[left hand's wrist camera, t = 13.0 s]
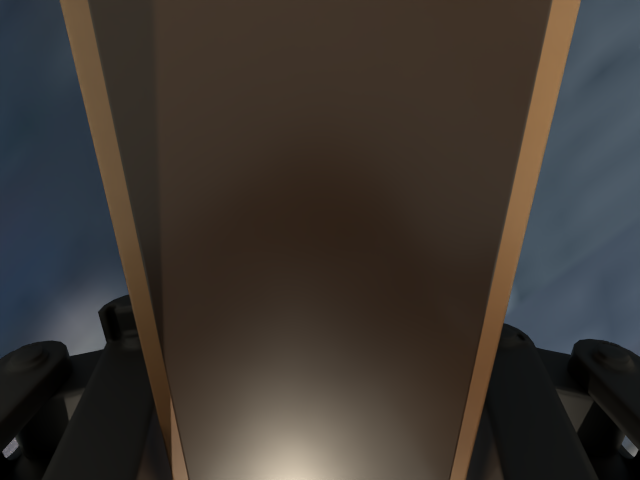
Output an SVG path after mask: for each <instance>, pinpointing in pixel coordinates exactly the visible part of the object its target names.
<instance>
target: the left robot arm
mask: <svg viewBox="0 0 640 480" xmlns="http://www.w3.org/2000/svg"><path fill="white" fill-rule="evenodd" d="M98 314H99V317H100V321H101V324H102V328H103V331H104V335H105V338H106V342H107V344H106V346H105V348H104V349H102V350H98V351H94V352H89V353H84V354H79V355H74V356H69V353H68V350H67V347H66V345H64V344H63V343H62V342H59V341H43V342H36V343H32V344H28V345H25V346H22V347H21V348H19V349H17V350H15V351H12V352H10V353H9V354H7V355H6V356H4V357H3V358H1V359H0V480H173V479H172V474H171V470H170V466H169V462H168V457H167V453H166V449H165V445H164V440H163V436H162V432H161V428H160V423H159V419H158V415H157V411H156V406H155V402H154V398H153V394H152V389H151V385H150V381H149V377H148V372H147V368H146V364H145V360H144V356H143V351H142V347H141V343H140V339H139V334H138V330H137V326H136V322H135V317H134V313H133V309H132V305H131V300H130V296H129V295H125V296H123V297H120V298H117V299H115V300H113V301H111V302H109V303H108V304H106V305H104V306H103V307H102V308H101V309H100V310H99V312H98ZM625 435H626V436H627V437H628V438H629V439H630V441H631V442H632V443H633V444H634V445H635V446H636V447H637V448H638V449H639V450H638V452H637V454H636V456H635V457H633V456H632V455H631V454H630V453H629V452H628V451H627V450H626V449H625V448H624V447H623V446H622V442H623V440H624V437H625ZM14 437H15V438H16V440H17V442H18V444H19V446H18V448H17V449H16V450H15V451H14V452H13V453H12V454H11V455H10V456H9V457H8V458H5V457H4V455H3V453H2V451H3V450H4V449H5V448H6V446H7V445H8V444H9V443H10V442H11V441H12V440H13V439H14ZM466 480H640V357H639V356H638V355H636V354H634V353H633V352H631V351H630V350H627V349H625V348H623V347H621V346H619V345H617V344H614V343H609V342H608V341H603V340H595V339H585V340H579V341H578V342H577V343H575V344H574V347H573V350H572V353H571V355H569V354H564V353H559V352H554V351H549V350H544V349H540V348H536V347H535V345H534V343H533V342H532V340H531V339H530V338H529V336H528V335H526V334H525V333H523V332H522V331H521V330H519V329H517V328H515V327H513V326H510V325H508V324H504V323H503V327H502V331H501V335H500V339H499V343H498V348H497V352H496V356H495V360H494V364H493V368H492V373H491V377H490V381H489V385H488V389H487V394H486V398H485V402H484V406H483V410H482V414H481V419H480V423H479V427H478V431H477V435H476V439H475V444H474V448H473V452H472V456H471V460H470V464H469V469H468V473H467V477H466Z"/></svg>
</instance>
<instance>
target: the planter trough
mask: <svg viewBox="0 0 640 480" xmlns="http://www.w3.org/2000/svg"><path fill="white" fill-rule="evenodd" d="M580 2H581V0H60V3H61V7H62V12H63V16H64V20H65V24H66V29H67V33H68V37H69V41H70V46H71V50H72V54H73V58H74V63H75V67H76V71H77V75H78V80H79V84H80V88H81V92H82V97H83V101H84V105H85V109H86V114H87V118H88V122H89V126H90V131H91V135H92V139H93V143H94V147H95V152H96V156H97V160H98V164H99V169H100V173H101V177H102V181H103V186H104V190H105V194H106V198H107V203H108V207H109V211H110V215H111V220H112V224H113V228H114V232H115V237H116V241H117V245H118V249H119V254H120V258H121V262H122V266H123V271H124V275H125V279H126V283H127V288H128V292H129V296H130V300H131V305H132V309H133V313H134V317H135V322H136V326H137V330H138V334H139V339H140V343H141V347H142V351H143V356H144V360H145V364H146V368H147V372H148V377H149V381H150V385H151V389H152V394H153V398H154V402H155V406H156V411H157V415H158V419H159V423H160V428H161V432H162V436H163V440H164V445H165V449H166V453H167V457H168V462H169V466H170V470H171V474H172V479H173V480H466V477H467V473H468V469H469V464H470V460H471V456H472V452H473V448H474V444H475V439H476V435H477V431H478V427H479V423H480V419H481V414H482V410H483V406H484V402H485V398H486V394H487V389H488V385H489V381H490V377H491V373H492V368H493V364H494V360H495V356H496V352H497V348H498V343H499V339H500V335H501V331H502V327H503V323H504V318H505V314H506V310H507V306H508V302H509V298H510V293H511V289H512V285H513V281H514V277H515V273H516V268H517V264H518V260H519V256H520V252H521V248H522V243H523V239H524V235H525V231H526V227H527V223H528V218H529V214H530V210H531V206H532V202H533V198H534V193H535V189H536V185H537V181H538V177H539V173H540V168H541V164H542V160H543V156H544V152H545V148H546V143H547V139H548V135H549V131H550V127H551V123H552V118H553V114H554V110H555V106H556V102H557V97H558V93H559V89H560V85H561V81H562V77H563V72H564V68H565V64H566V60H567V56H568V52H569V47H570V43H571V39H572V35H573V31H574V27H575V22H576V18H577V14H578V10H579V6H580Z"/></svg>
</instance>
